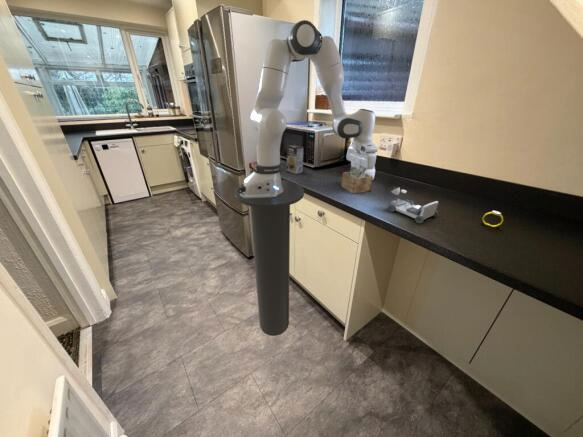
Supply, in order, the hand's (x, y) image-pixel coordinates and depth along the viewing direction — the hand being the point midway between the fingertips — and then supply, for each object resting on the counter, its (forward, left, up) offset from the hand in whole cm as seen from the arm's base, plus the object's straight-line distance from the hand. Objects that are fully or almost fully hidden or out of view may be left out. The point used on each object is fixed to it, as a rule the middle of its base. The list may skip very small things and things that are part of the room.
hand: (357, 172), depth 121 cm
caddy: (0, 0, -9) cm, 9 cm away
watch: (+28, -51, -9) cm, 59 cm away
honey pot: (+15, +15, -9) cm, 23 cm away
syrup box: (0, 0, -6) cm, 6 cm away
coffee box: (-21, +39, -9) cm, 45 cm away
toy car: (+6, -32, -9) cm, 34 cm away
